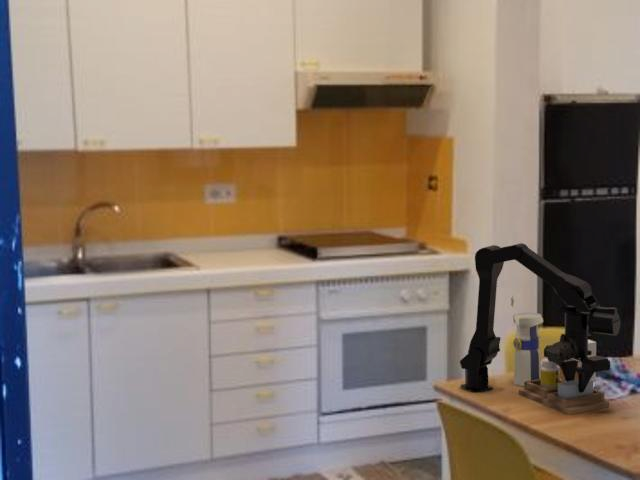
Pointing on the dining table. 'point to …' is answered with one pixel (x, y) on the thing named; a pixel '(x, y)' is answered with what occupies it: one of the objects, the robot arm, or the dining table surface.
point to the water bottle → (526, 347)
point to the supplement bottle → (549, 374)
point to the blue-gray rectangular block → (573, 389)
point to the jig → (564, 405)
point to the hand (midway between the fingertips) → (575, 390)
